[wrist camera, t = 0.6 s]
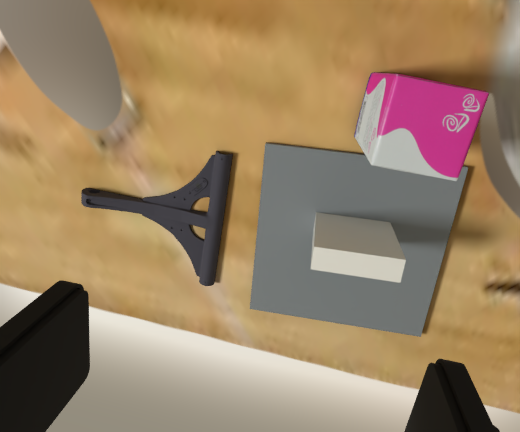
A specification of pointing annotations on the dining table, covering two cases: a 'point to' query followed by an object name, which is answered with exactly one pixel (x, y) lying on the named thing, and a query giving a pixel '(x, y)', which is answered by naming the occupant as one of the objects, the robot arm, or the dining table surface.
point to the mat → (352, 205)
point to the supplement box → (418, 124)
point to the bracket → (182, 212)
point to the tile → (356, 247)
